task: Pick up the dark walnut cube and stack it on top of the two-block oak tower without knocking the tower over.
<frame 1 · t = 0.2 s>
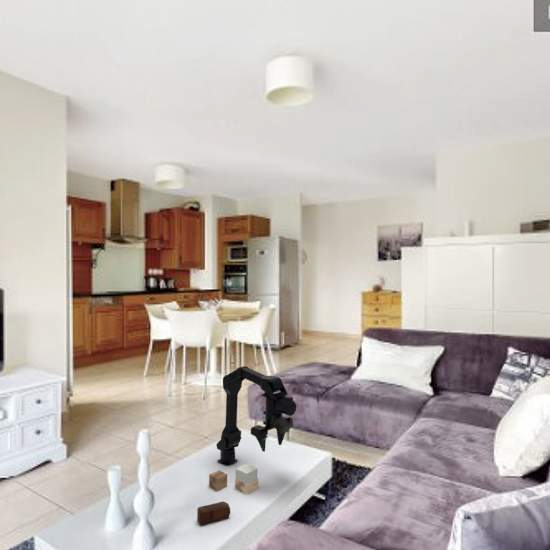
hand: (271, 448, 166), 14 cm above the table, fingers open, 9 cm apart
tower top: (246, 478, 162), point 4 cm above the table, touching tower base
tower base: (246, 488, 162), on the table, touching tower top
walnut block: (218, 487, 163), on the table
brick: (213, 520, 142), on the table
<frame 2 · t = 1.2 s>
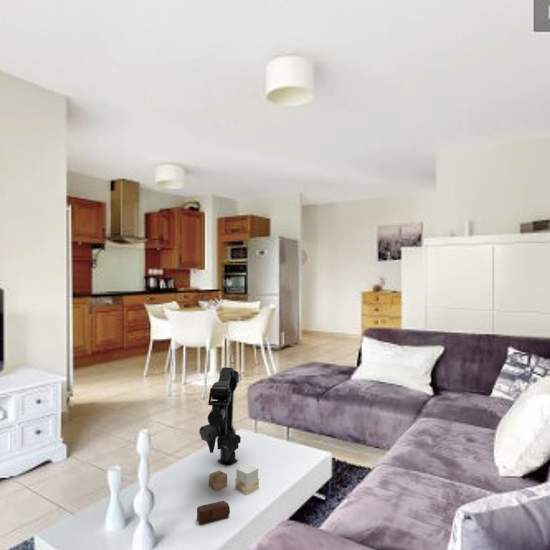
hand: (219, 456, 163), 12 cm above the table, fingers open, 9 cm apart
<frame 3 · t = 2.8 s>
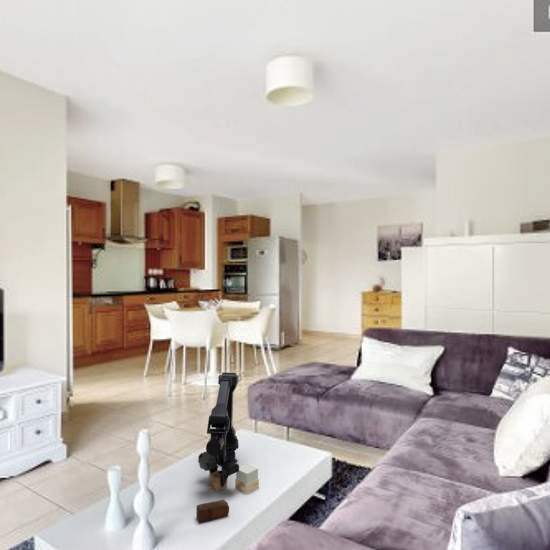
hand: (218, 484, 163), 1 cm above the table, fingers closed on walnut block, 5 cm apart
walnut block: (218, 486, 163), on the table, touching gripper
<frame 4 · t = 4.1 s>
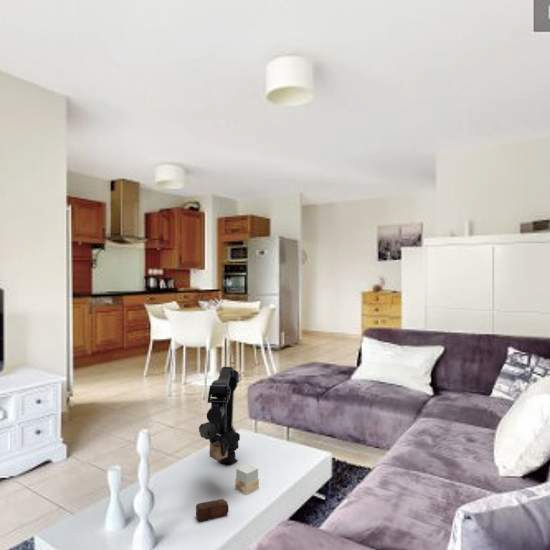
hand: (218, 454, 163), 13 cm above the table, fingers closed on walnut block, 5 cm apart
walnut block: (218, 456, 163), point 12 cm above the table, touching gripper
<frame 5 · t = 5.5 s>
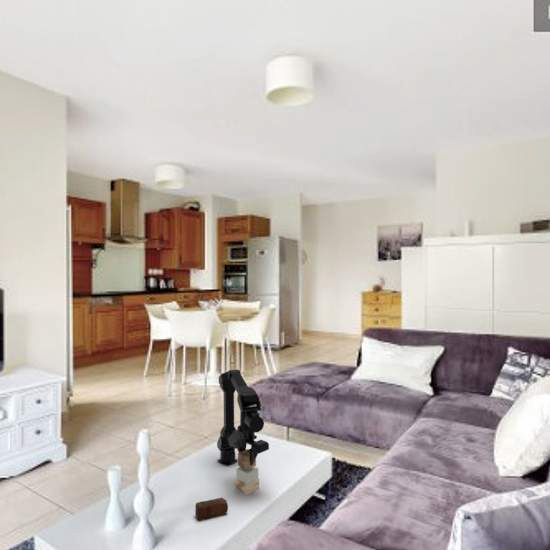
hand: (246, 462, 162), 10 cm above the table, fingers closed on walnut block, 5 cm apart
walnut block: (246, 465, 162), point 9 cm above the table, touching gripper
when the fingers open (10 cm above the table, at t = 5.7 s): walnut block drops 1 cm, resting on tower top.
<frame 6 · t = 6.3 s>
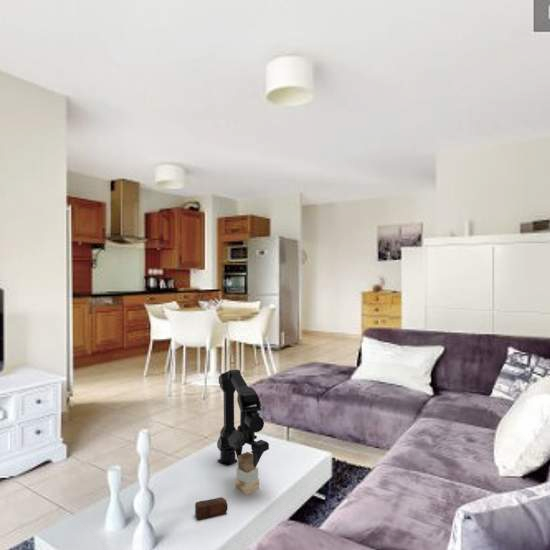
hand: (246, 462, 162), 10 cm above the table, fingers open, 9 cm apart
tower top: (247, 478, 163), point 4 cm above the table, touching tower base, walnut block
walnut block: (246, 468, 163), point 8 cm above the table, touching tower top
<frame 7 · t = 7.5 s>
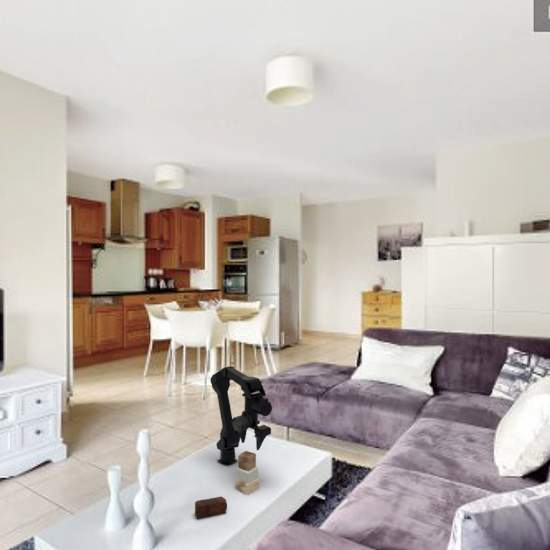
hand: (250, 446, 172), 13 cm above the table, fingers open, 9 cm apart
walnut block: (247, 467, 164), point 8 cm above the table, touching tower top
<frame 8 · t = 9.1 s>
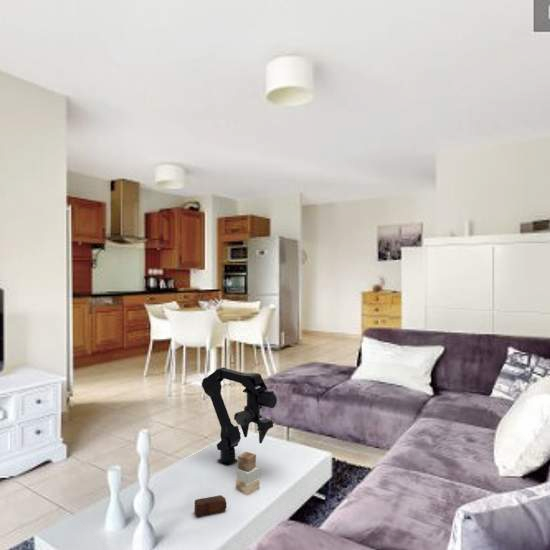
hand: (252, 440, 177), 13 cm above the table, fingers open, 9 cm apart
at the end: walnut block 0.8 cm off-centre on the tower base, point 8.0 cm above the tower base's base; tower top tilted 0°; the gripper is holding nothing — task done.
